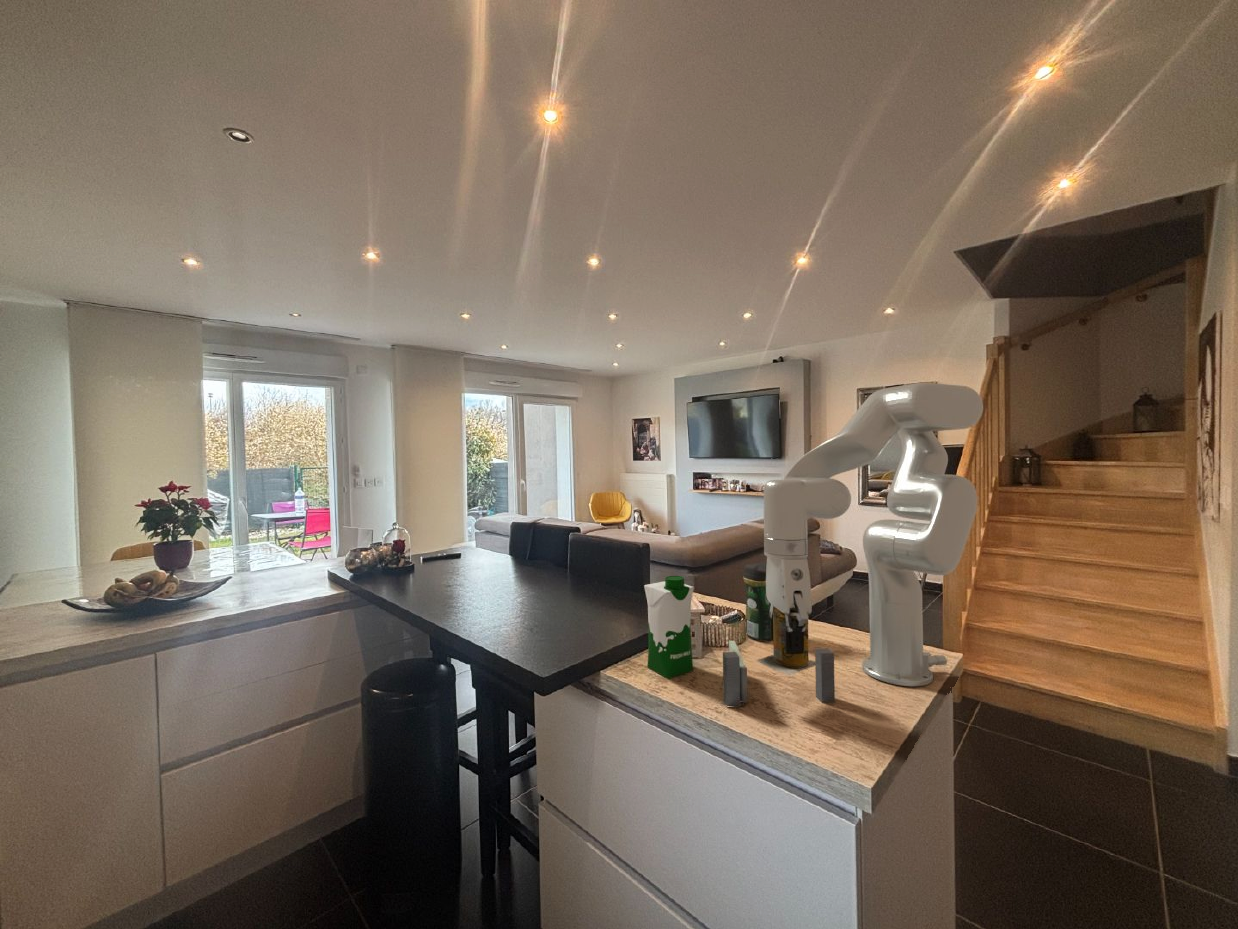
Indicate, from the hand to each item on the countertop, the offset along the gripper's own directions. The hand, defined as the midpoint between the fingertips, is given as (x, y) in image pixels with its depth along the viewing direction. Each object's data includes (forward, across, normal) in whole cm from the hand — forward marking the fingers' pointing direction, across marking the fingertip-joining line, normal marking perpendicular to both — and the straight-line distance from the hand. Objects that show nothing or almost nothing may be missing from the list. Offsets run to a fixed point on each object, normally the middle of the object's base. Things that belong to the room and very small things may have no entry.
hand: (786, 645), depth 88 cm
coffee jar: (+11, +34, -8) cm, 37 cm away
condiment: (+3, 0, 0) cm, 3 cm away
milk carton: (+11, +17, +19) cm, 28 cm away
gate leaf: (+10, +7, +7) cm, 14 cm away
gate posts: (+11, +1, +1) cm, 11 cm away
